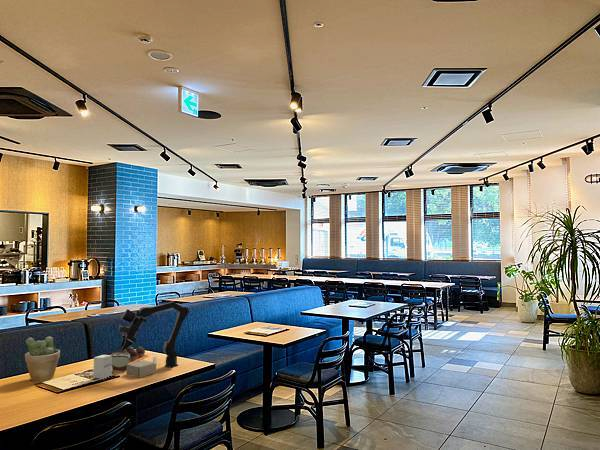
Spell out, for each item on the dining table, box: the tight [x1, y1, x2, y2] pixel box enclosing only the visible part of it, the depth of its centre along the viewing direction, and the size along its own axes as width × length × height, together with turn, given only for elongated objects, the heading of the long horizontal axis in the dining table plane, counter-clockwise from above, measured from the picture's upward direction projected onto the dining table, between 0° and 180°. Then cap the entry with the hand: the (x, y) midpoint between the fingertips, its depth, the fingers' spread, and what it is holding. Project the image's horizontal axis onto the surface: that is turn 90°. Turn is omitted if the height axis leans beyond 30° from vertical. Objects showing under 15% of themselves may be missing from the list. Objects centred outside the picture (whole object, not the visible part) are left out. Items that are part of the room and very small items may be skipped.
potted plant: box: [24, 336, 61, 382], centre depth 268 cm, size 18×19×25 cm
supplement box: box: [92, 354, 113, 380], centre depth 269 cm, size 7×7×13 cm
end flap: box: [138, 356, 158, 378], centre depth 273 cm, size 12×1×10 cm, turn 146°
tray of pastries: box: [109, 345, 150, 364], centre depth 308 cm, size 28×17×8 cm, turn 168°
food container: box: [111, 353, 130, 372], centre depth 287 cm, size 12×6×10 cm, turn 84°
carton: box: [125, 359, 153, 378], centre depth 277 cm, size 12×12×6 cm
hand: (121, 348), depth 280 cm, fingers open, 9 cm apart
